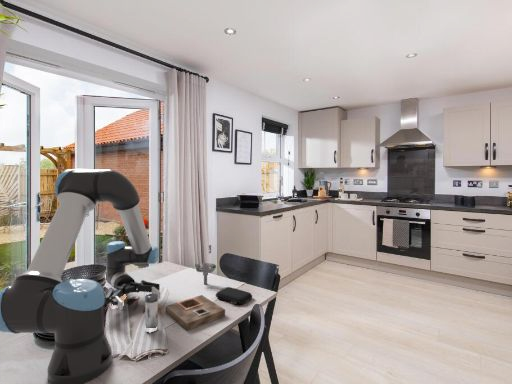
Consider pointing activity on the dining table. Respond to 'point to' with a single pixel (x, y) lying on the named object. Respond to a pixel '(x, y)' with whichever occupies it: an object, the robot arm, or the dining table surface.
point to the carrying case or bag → (234, 295)
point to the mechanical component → (205, 269)
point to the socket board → (194, 312)
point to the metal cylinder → (151, 311)
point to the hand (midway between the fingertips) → (141, 300)
